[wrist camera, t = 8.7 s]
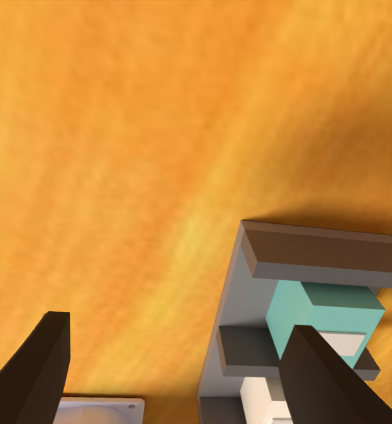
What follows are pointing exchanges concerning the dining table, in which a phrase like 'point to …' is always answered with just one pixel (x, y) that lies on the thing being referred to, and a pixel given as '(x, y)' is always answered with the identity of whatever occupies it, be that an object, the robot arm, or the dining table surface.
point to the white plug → (264, 401)
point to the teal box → (325, 315)
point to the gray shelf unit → (262, 297)
